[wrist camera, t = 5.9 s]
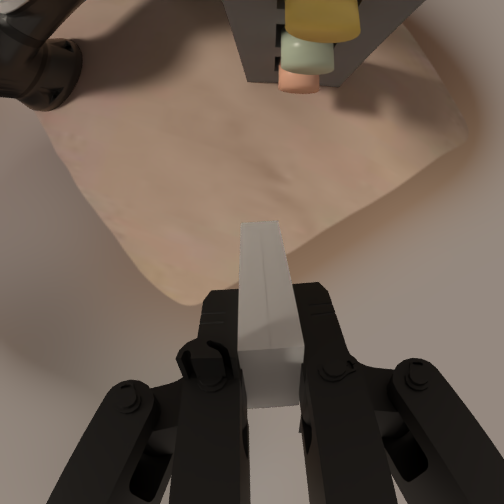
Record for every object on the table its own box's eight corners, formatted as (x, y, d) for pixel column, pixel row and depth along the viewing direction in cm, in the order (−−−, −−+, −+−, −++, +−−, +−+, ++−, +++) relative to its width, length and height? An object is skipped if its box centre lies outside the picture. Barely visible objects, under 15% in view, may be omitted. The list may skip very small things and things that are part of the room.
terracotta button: (278, 65, 34) (279, 52, 29) (316, 68, 33) (322, 56, 29) (278, 92, 35) (279, 82, 30) (316, 95, 35) (322, 85, 30)
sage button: (280, 40, 25) (281, 20, 20) (327, 44, 25) (337, 25, 20) (280, 73, 26) (281, 57, 21) (328, 76, 26) (339, 62, 21)
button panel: (248, 51, 39) (210, -101, 7) (337, 56, 38) (428, -72, 6) (247, 81, 40) (202, -56, 9) (338, 87, 40) (448, -21, 8)
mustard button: (283, -1, 16) (285, -35, 12) (347, 6, 16) (363, -25, 11) (283, 40, 18) (286, 9, 13) (350, 46, 17) (369, 20, 13)
